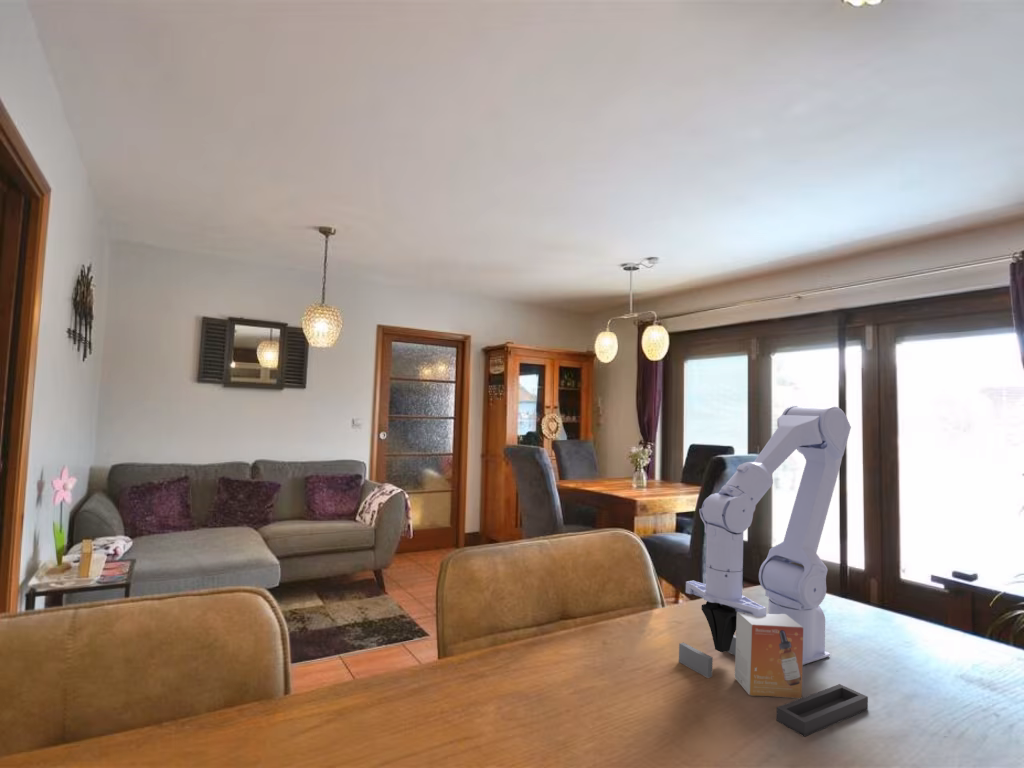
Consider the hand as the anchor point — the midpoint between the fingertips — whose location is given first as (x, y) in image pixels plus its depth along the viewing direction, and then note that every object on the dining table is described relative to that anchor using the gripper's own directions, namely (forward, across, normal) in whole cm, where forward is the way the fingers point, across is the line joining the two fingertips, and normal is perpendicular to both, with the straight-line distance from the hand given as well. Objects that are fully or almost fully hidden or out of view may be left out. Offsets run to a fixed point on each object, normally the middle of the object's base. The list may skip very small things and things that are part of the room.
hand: (722, 649), depth 91 cm
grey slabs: (+2, -1, 0) cm, 3 cm away
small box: (+3, +8, 0) cm, 9 cm away
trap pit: (+2, +17, 0) cm, 17 cm away
